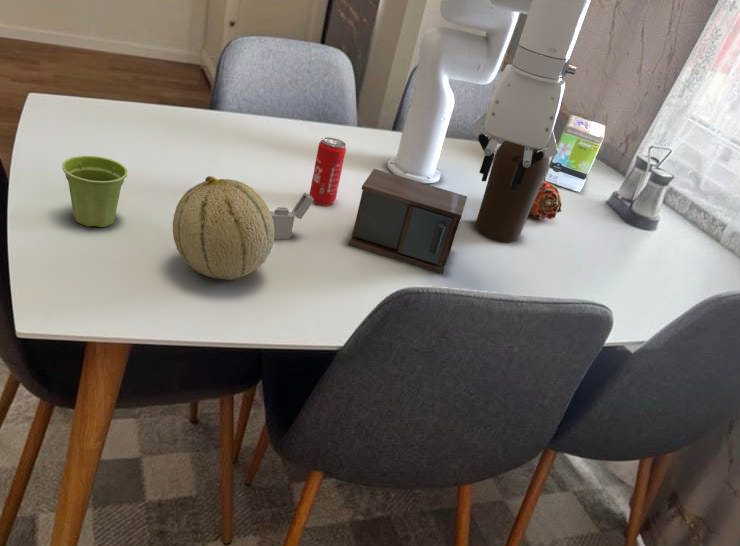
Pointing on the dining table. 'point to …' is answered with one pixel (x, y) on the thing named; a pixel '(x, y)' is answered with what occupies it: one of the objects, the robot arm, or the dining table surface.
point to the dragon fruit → (546, 202)
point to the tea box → (575, 153)
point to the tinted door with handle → (426, 235)
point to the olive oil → (509, 194)
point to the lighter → (289, 217)
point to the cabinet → (399, 214)
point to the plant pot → (94, 188)
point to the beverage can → (327, 171)
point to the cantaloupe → (223, 228)
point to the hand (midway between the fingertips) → (498, 182)
